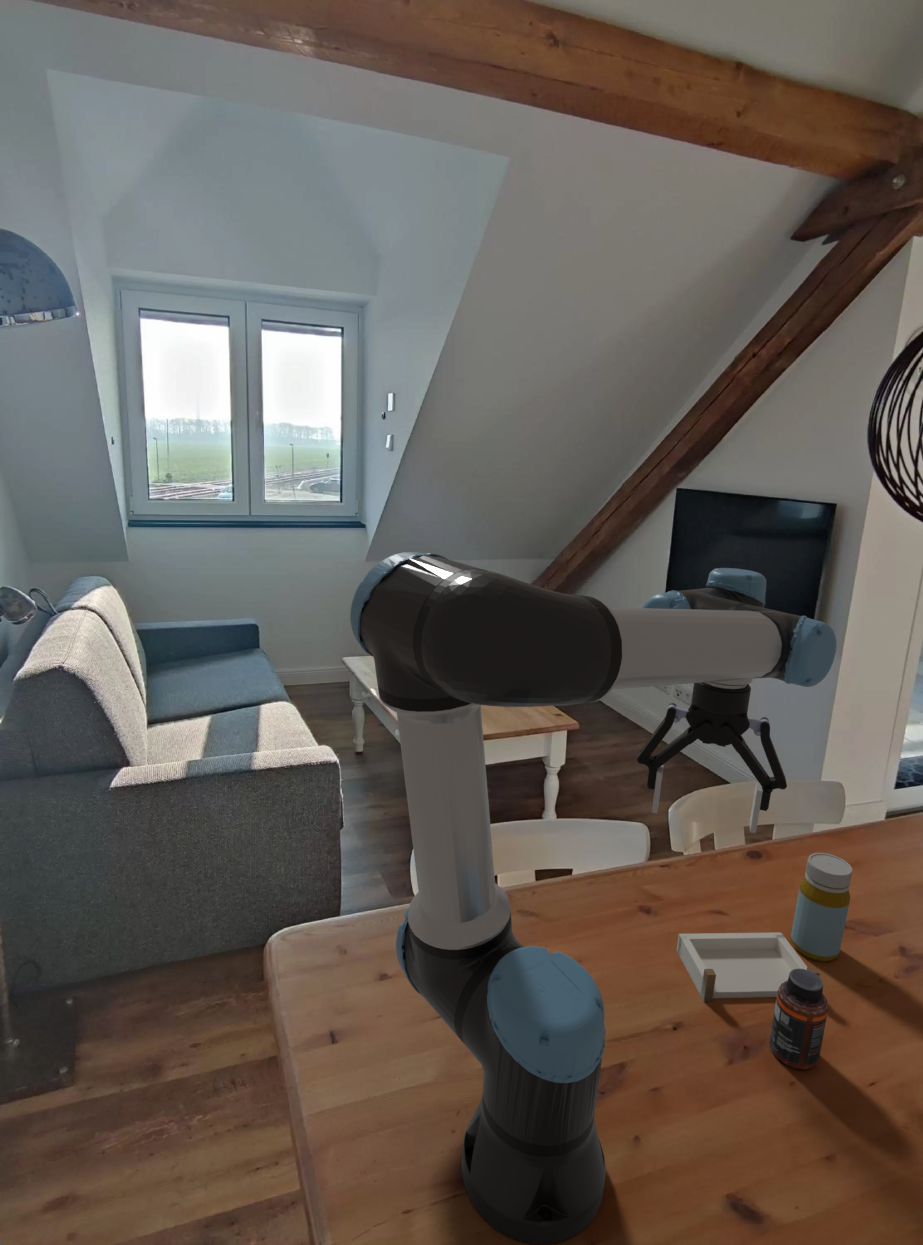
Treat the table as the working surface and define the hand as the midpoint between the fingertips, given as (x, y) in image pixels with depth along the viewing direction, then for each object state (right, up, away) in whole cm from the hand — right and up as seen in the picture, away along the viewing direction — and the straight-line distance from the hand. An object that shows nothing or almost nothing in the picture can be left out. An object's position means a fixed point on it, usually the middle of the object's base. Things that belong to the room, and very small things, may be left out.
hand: (702, 818), depth 107 cm
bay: (+7, -24, +2) cm, 25 cm away
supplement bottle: (+8, -27, -12) cm, 31 cm away
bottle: (+20, -23, +9) cm, 32 cm away
